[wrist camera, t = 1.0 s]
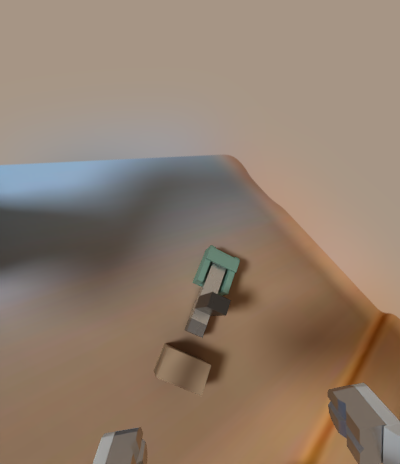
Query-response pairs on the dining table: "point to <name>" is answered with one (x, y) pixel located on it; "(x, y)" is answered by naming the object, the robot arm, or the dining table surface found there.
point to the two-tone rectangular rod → (208, 301)
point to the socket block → (182, 369)
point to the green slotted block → (222, 260)
